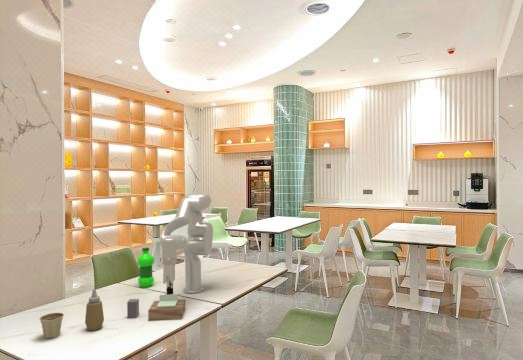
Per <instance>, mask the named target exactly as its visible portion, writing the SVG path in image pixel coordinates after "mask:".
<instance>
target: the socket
mask: <svg viewBox="0 0 523 360" xmlns="http://www.w3.org/2000/svg"><path fill="white" fill-rule="evenodd" d="M159 302H160V300H154V301H153V303H152V304H151V305H150V307H149V309H148V310H147V314H148V316H147V317H148V319H147V320H148V321H149V322H151V321H170V320H172V321H173V320H182V319H183V316H184V313H185V311H186V299H178V302H177V304H176V306H175V307H168V308H157V305H158V303H159Z"/></svg>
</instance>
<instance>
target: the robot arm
mask: <svg viewBox="0 0 523 360" xmlns="http://www.w3.org/2000/svg"><path fill="white" fill-rule="evenodd" d="M211 203H212V199H211V196H210V195H209V194H207V193H190V194H186V195H185V196H184V197H183V198H182V199H181V200H180V202H179V204H178V208H177V211H176V214H175V217H174V218H173V219H172V220H171V221H169V223H167V224H166V225H165V227H164V228H163V230H162V232H161V235H160V239H159V245H160V248H161V258H162V259H161V261H162V262H161V264H162V266H163V270H162V273H163V274H162V277H163V278H162V283H163V285H165V284H166V294H174V281H175V280H176V264H177V263H178V255H177V254H178V252H177V251H178V250H182V249H183V252H184V253H183V254H184V259H185V261H184V265H185V266H184V267H185V269H184V270H185V287H184V288H182V292H183V293H185V294H199V293H201V292H203V291H204V289H205V288H204V287H203V286H202V261H201V259H200V257H199V256H209V255H211V253H212V250H213V238H214V228H213V224H212V223H211V222H203V216H204V215H203V213H202V211H204V210H206V209H207V208H209V207H210V206H211ZM186 226H187V236H188V237H190V238H196V239H188V240H187V238H186V237H185V236H184V235H181V234H180V235H179V234H178V235H176V234H172V233H174V232H175V231H176V230H178V229H180V228H183V227H186ZM199 238H203V239H199Z"/></svg>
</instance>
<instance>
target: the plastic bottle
mask: <svg viewBox="0 0 523 360" xmlns="http://www.w3.org/2000/svg"><path fill="white" fill-rule="evenodd" d="M141 249H142V250H141V251H142V252H143V253H142V254H141V255H139V257H138V258H137V260H136V261H137V265H138V266H139V276H138V280H137V283H138V284H139V285H140V287H142V288H149V287H151V286H152V285H153V284H154V281H155V278H154V275H153V265H154V263H155V258H154V256H153V255H151V254H150V252H149V251H150V247H148V246H147V247H142V248H141Z"/></svg>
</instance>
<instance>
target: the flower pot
mask: <svg viewBox="0 0 523 360" xmlns="http://www.w3.org/2000/svg"><path fill="white" fill-rule="evenodd" d="M64 316H65V313H63V312H52V313H45V314H44V315H41V316H40V317H39V321H40V323H41V328H42V334H43V338H44V339H51V338H52V339H54V338H57V337H59V336H60V335H61V330H62V323H63V322H62V321H63V319H64Z"/></svg>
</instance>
